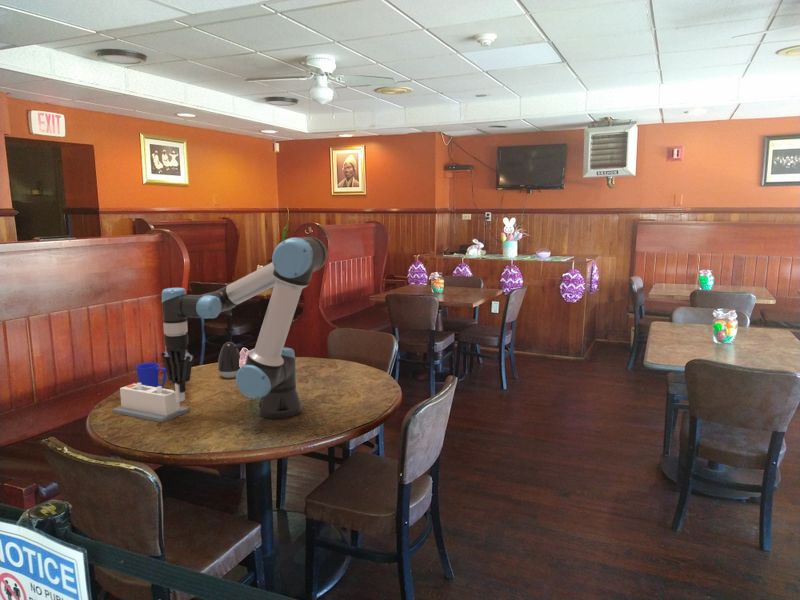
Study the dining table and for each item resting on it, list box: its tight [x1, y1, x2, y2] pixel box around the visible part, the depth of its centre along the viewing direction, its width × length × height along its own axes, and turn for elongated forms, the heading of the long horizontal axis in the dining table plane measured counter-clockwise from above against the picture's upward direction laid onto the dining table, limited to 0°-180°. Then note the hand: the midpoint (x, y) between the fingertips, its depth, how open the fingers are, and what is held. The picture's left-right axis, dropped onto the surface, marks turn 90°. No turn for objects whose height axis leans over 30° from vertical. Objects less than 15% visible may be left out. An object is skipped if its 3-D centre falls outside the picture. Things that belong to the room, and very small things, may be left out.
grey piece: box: [112, 382, 190, 423], centre depth 202 cm, size 24×12×10 cm, turn 65°
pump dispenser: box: [217, 341, 242, 379], centre depth 245 cm, size 10×10×15 cm
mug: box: [135, 362, 167, 387], centre depth 228 cm, size 8×12×10 cm
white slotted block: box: [119, 383, 181, 416], centre depth 203 cm, size 22×6×7 cm, turn 65°
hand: (180, 401), depth 196 cm, fingers closed
